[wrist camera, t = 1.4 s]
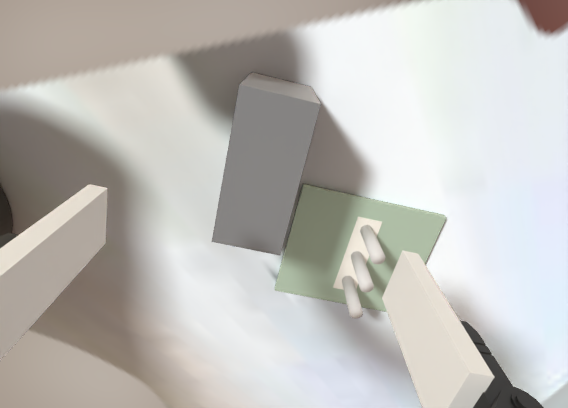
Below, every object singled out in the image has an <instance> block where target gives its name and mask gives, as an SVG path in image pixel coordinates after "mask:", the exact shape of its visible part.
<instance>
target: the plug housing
mask: <svg viewBox="0 0 568 408" xmlns="http://www.w3.org/2000/svg"><path fill="white" fill-rule="evenodd" d="M320 106H321V103H320V101H319V100H318V98H317V96H316V94H315V93H314V91H313V89H312V87H310V86H306V85H302V84H298V83H294V82H290V81H286V80H282V79H278V78H274V77H270V76H266V75H262V74H258V73H254V72H252V73H251V74H250V75H248V76H247V77H246V78H245V79H244V80H243V81H242V82H241V83H240V84H239V89H238V95H237V101H236V107H235V112H234V118H233V124H232V129H231V135H230V141H229V146H228V152H227V158H226V163H225V169H224V175H223V181H222V186H221V192H220V198H219V203H218V209H217V215H216V220H215V226H214V232H213V238H212V242H216V243H221V244H226V245H231V246H236V247H241V248H246V249H251V250H256V251H261V252H266V253H271V254H276V255H280V254H281V251H282V247H283V243H284V239H285V236H286V232H287V228H288V225H289V221H290V217H291V213H292V210H293V206H294V202H295V199H296V195H297V191H298V187H299V184H300V180H301V176H302V173H303V169H304V165H305V162H306V158H307V154H308V150H309V147H310V143H311V139H312V136H313V132H314V128H315V124H316V121H317V117H318V113H319V110H320Z"/></svg>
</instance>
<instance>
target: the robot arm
mask: <svg viewBox="0 0 568 408" xmlns="http://www.w3.org/2000/svg"><path fill="white" fill-rule="evenodd" d="M107 196H108V188H106V187H101V186H96V185H91V184H89V185H87V186H86V187H84V188H83V189H82V190H80V191H79V192H78V193H76V194H75V195H73V196H72V197H71V198H69V199H68V200H66V201H65V202H64V203H62V204H61V205H60V206H58V207H57V208H55V209H54V210H53V211H51V212H50V213H49V214H47V215H46V216H44V217H43V218H42V219H40V220H39V221H37V222H36V223H35V224H33V225H32V226H31V227H29V228H28V229H26V230H25V231H24V232H22V233H21V234H20V235H17V234H12V215H11V211H10V207H9V204H8V201H7V198H6V196H5V194H4V192H3V190H2V188H1V187H0V361H1V360H2V358H3V357H4V356H5V355H6V354H7V353H8V352H9V351H10V350H11V348H12V347H13V346H14V345H15V344H16V343H17V342H18V341H19V339H20V338H21V337H22V336H23V335H24V334H25V333H26V332H27V331H28V329H29V328H30V327H31V326H32V325H33V324H34V323H35V322H36V321H37V319H38V318H39V317H40V316H41V315H42V314H43V313H44V312H45V310H46V309H47V308H48V307H49V306H50V305H51V304H52V303H53V302H54V300H55V299H56V298H57V297H58V296H59V295H60V294H61V293H62V291H63V290H64V289H65V288H66V287H67V286H68V285H69V284H70V283H71V281H72V280H73V279H74V278H75V277H76V276H77V275H78V274H79V273H80V271H81V270H82V269H83V268H84V267H85V266H86V265H87V264H88V262H89V261H90V260H91V259H92V258H93V257H94V256H95V255H96V254H97V252H98V251H99V250H100V249H101V248H102V247H103V246H104V245H105V243H106V223H107ZM382 300H383V302H384V305H385V308H386V310H387V313H388V316H389V319H390V321H391V324H392V327H393V329H394V332H395V335H396V337H397V340H398V343H399V346H400V348H401V351H402V354H403V356H404V359H405V362H406V365H407V367H408V370H409V373H410V375H411V378H412V381H413V384H414V386H415V389H416V392H417V394H418V397H419V400H420V403H421V405H422V408H543V407H542V405H541V404H540V403H539V402H538V401H537V400H536V399H534V398H533V397H532V396H531V395H529V394H528V393H526V392H524V391H522V390H521V389H519V388H515V387H513V386H512V384H511V383H510V381H509V379H508V378H507V376H506V375H505V373H504V372H503V370H502V369H501V367H500V366H499V364H498V363H497V361H496V360H495V358H494V357H493V356H492V355H491V354H492V353H491V352H490V350H489V349H488V347H487V346H485V343H484V341H483V340H482V338H481V337H480V335H479V334H478V332H477V331H476V330H474V329H473V328H472V327H471V326H470V325H469V324H468V323H467V322H464V321H460V320H459V319H458V317H457V315H456V314H455V312H454V311H453V309H452V307H451V306H450V304H449V303H448V301H447V299H446V298H445V296H444V294H443V293H442V291H441V290H440V288H439V286H438V285H437V283H436V281H435V280H434V278H433V277H432V275H431V273H430V272H429V270H428V268H427V267H426V265H425V264H424V262H423V260H422V259H421V257H420V255H419V254H417V253H413V252H408V251H403V250H402V253H401V255H400V257H399V260H398V262H397V264H396V267H395V269H394V271H393V274H392V276H391V278H390V281H389V283H388V285H387V288H386V290H385V292H384V295H383V297H382Z"/></svg>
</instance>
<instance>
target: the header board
mask: <svg viewBox="0 0 568 408" xmlns="http://www.w3.org/2000/svg"><path fill="white" fill-rule="evenodd" d="M445 220H446V217H445V215H442V214H438V213H433V212H429V211H424V210H419V209H415V208H410V207H406V206H401V205H397V204H392V203H388V202H383V201H379V200H374V199H370V198H365V197H361V196H356V195H352V194H347V193H343V192H338V191H334V190H329V189H324V188H320V187H315V186H311V185H306V184H303V186H302V190H301V193H300V197H299V201H298V204H297V208H296V212H295V215H294V219H293V223H292V226H291V230H290V234H289V237H288V241H287V245H286V248H285V252H284V255H283V259H282V263H281V266H280V270H279V274H278V277H277V281H276V285H275V290H276V291H281V292H286V293H291V294H296V295H302V296H307V297H312V298H317V299H322V300H328V301H333V302H338V303H343V304H347V306H348V310H349V314H350V316H351V317H352V318H360V317H361V316H362V315H363V311H362V308H361V307H364V308H369V309H375V310H380V311H385V312H387V310H386V308H385V305H384V302H383V300H382V297H383V295H384V292H385V290H386V288H387V285H388V283H389V281H390V278H391V276H392V274H393V271H394V269H395V267H396V264H397V262H398V260H399V257H400V255H401V253H402V250H403V251H408V252H413V253H417V254H419V255H420V257H421V259H422V260H423V262H424V264H425V263H426V261H427V259H428V256H429V254H430V252H431V250H432V248H433V246H434V244H435V241H436V239H437V237H438V235H439V233H440V231H441V229H442V226H443V224H444V222H445Z"/></svg>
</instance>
